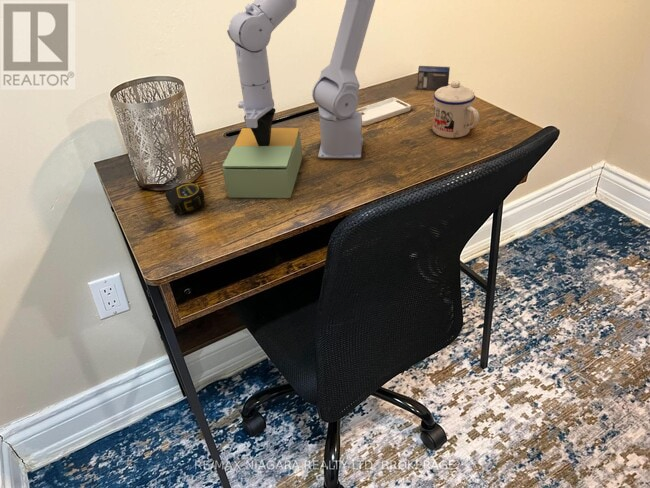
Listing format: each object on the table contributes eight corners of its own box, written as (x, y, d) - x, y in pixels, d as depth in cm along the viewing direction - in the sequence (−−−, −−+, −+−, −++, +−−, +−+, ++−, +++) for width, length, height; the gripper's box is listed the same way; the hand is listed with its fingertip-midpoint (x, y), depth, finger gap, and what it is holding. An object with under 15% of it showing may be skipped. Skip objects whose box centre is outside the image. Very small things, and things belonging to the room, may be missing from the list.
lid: (242, 129, 113) (242, 128, 113) (299, 129, 112) (299, 127, 111) (233, 149, 107) (233, 147, 107) (293, 149, 105) (293, 147, 105)
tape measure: (167, 203, 104) (162, 187, 101) (200, 193, 106) (196, 177, 104) (176, 220, 99) (171, 203, 97) (210, 209, 101) (206, 193, 99)
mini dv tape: (417, 89, 143) (418, 67, 139) (417, 87, 144) (419, 65, 141) (447, 90, 141) (449, 68, 138) (447, 88, 142) (449, 66, 139)
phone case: (364, 126, 126) (411, 110, 132) (364, 121, 126) (412, 105, 131) (347, 116, 131) (393, 101, 137) (347, 111, 131) (393, 96, 137)
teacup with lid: (423, 129, 123) (426, 81, 116) (450, 118, 127) (454, 71, 120) (461, 147, 115) (466, 97, 108) (488, 135, 119) (496, 85, 112)
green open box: (246, 157, 117) (241, 127, 113) (302, 157, 116) (299, 127, 111) (228, 197, 104) (221, 166, 100) (290, 198, 103) (286, 166, 98)
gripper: (243, 68, 105) (253, 130, 113) (225, 95, 93) (237, 162, 102) (277, 67, 104) (284, 130, 112) (263, 95, 93) (272, 162, 101)
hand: (264, 145), depth 107 cm, fingers closed, pressing on lid
